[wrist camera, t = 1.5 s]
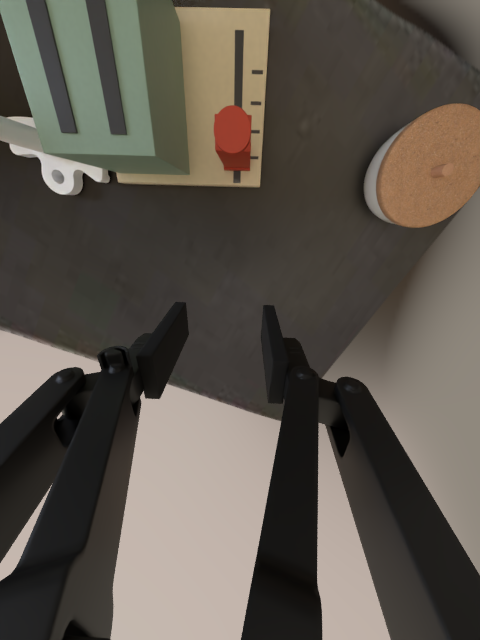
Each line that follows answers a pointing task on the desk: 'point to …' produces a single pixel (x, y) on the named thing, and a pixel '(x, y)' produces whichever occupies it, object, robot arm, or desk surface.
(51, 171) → the joystick
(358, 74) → the desk surface
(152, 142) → the toaster
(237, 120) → the slider
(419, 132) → the trinket box
